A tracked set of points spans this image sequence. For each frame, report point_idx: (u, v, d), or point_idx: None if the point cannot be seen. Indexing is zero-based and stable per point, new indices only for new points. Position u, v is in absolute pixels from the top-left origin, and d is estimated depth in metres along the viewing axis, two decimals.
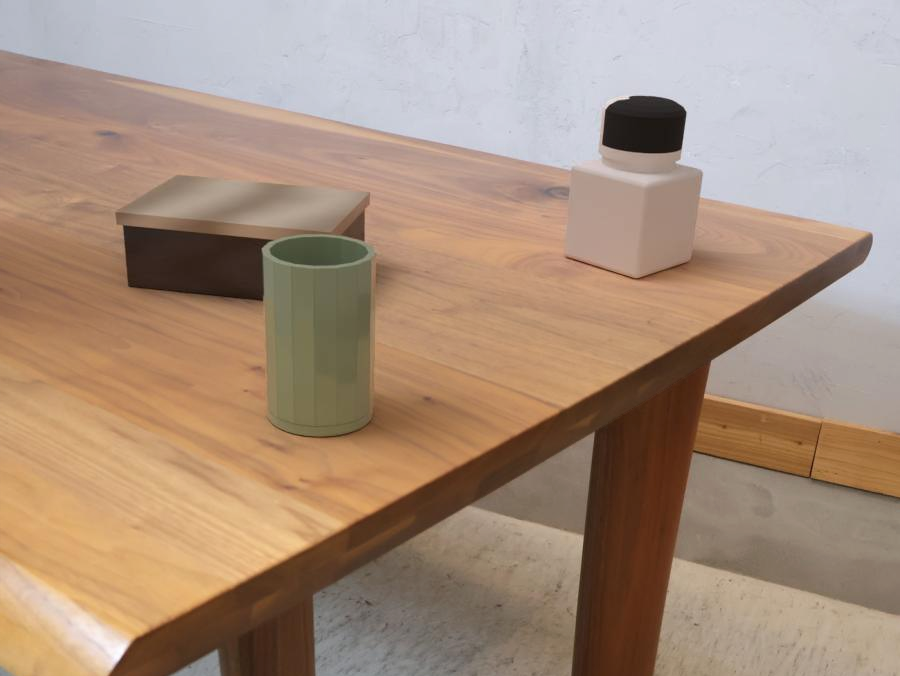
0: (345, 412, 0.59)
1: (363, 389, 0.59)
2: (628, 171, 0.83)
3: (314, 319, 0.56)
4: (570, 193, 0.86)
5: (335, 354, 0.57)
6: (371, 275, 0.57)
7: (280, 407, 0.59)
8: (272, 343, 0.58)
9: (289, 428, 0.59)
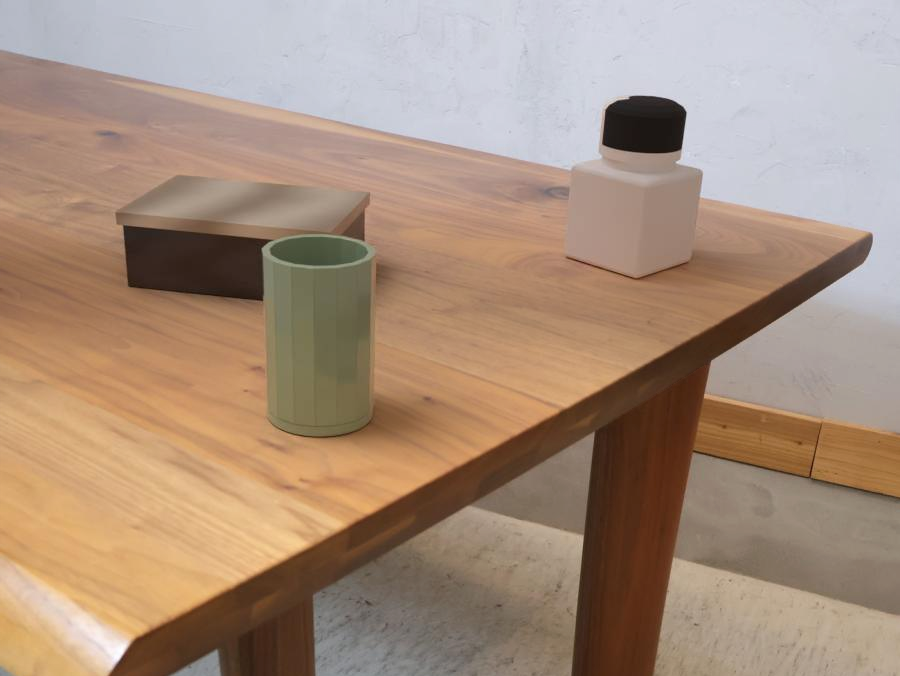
0: (345, 412, 0.59)
1: (363, 389, 0.59)
2: (628, 171, 0.83)
3: (314, 319, 0.56)
4: (570, 193, 0.86)
5: (335, 354, 0.57)
6: (371, 275, 0.57)
7: (280, 407, 0.59)
8: (272, 343, 0.58)
9: (289, 428, 0.59)
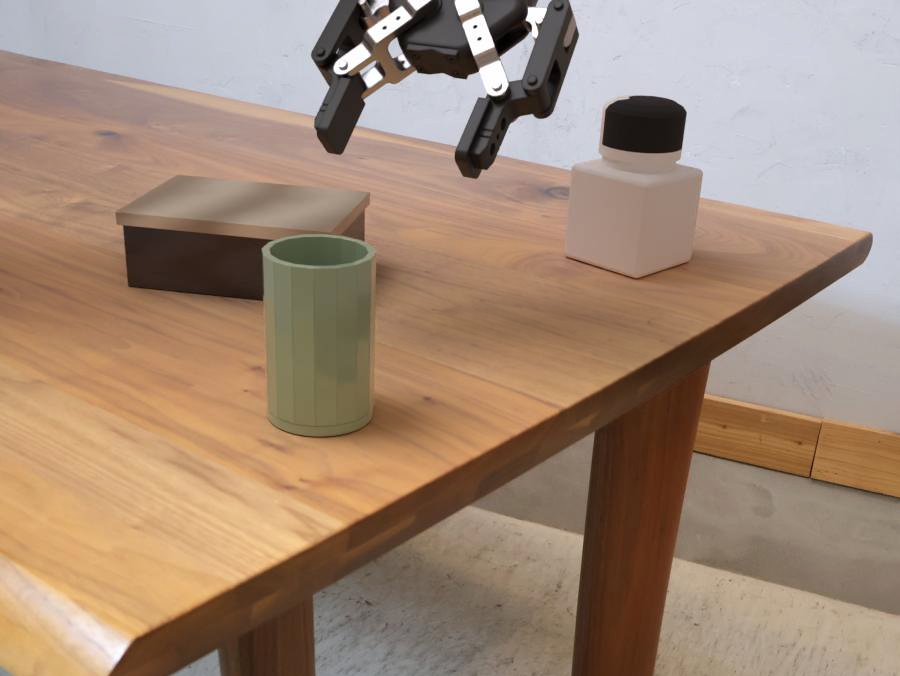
0: (345, 412, 0.59)
1: (363, 389, 0.59)
2: (628, 171, 0.83)
3: (314, 319, 0.56)
4: (570, 193, 0.86)
5: (335, 354, 0.57)
6: (371, 275, 0.57)
7: (280, 407, 0.59)
8: (272, 343, 0.58)
9: (289, 428, 0.59)
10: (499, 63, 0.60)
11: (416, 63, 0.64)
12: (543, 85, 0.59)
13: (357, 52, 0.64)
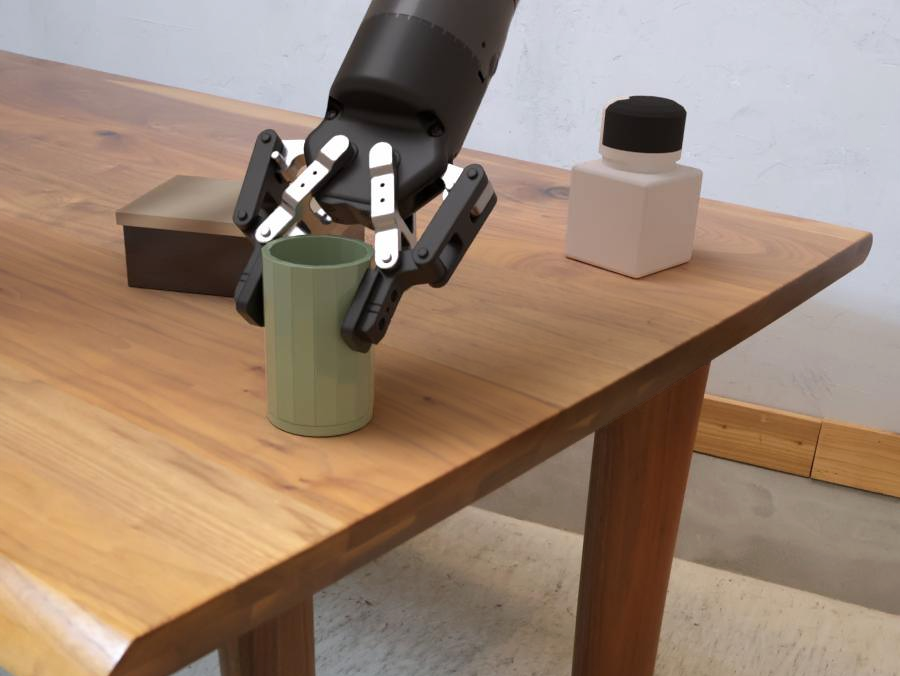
0: (345, 412, 0.59)
1: (363, 389, 0.59)
2: (628, 171, 0.83)
3: (314, 319, 0.56)
4: (570, 193, 0.86)
5: (335, 354, 0.57)
6: None
7: (280, 407, 0.59)
8: (271, 343, 0.58)
9: (289, 428, 0.59)
10: (396, 231, 0.56)
11: (342, 215, 0.60)
12: (434, 258, 0.55)
13: (278, 216, 0.59)
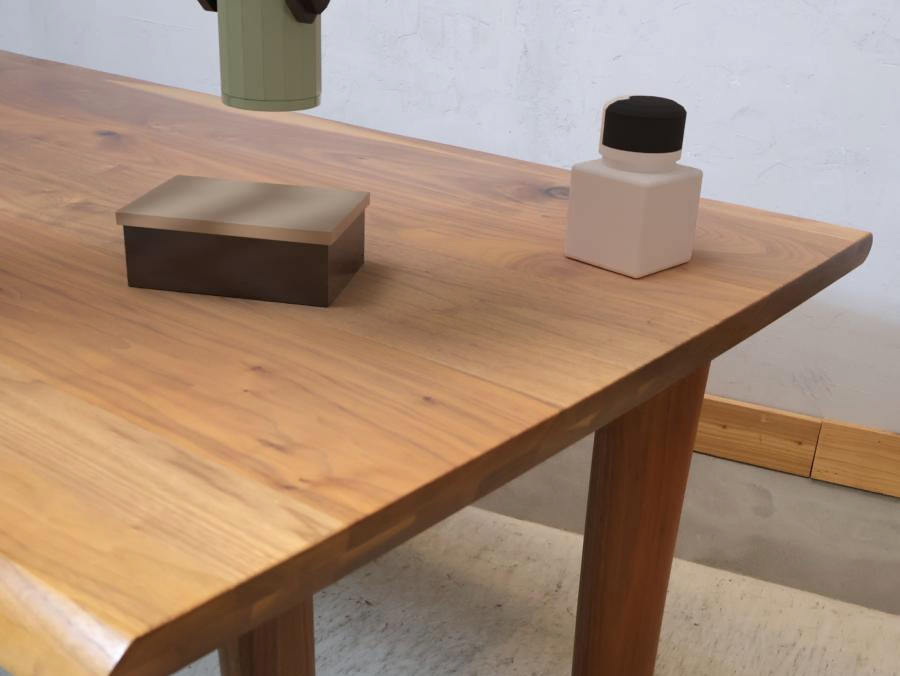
0: (292, 88, 0.63)
1: (309, 68, 0.63)
2: (628, 171, 0.83)
3: None
4: (570, 193, 0.86)
5: (281, 25, 0.61)
6: None
7: (232, 84, 0.63)
8: (223, 18, 0.62)
9: (240, 104, 0.63)
10: None
11: None
12: None
13: None
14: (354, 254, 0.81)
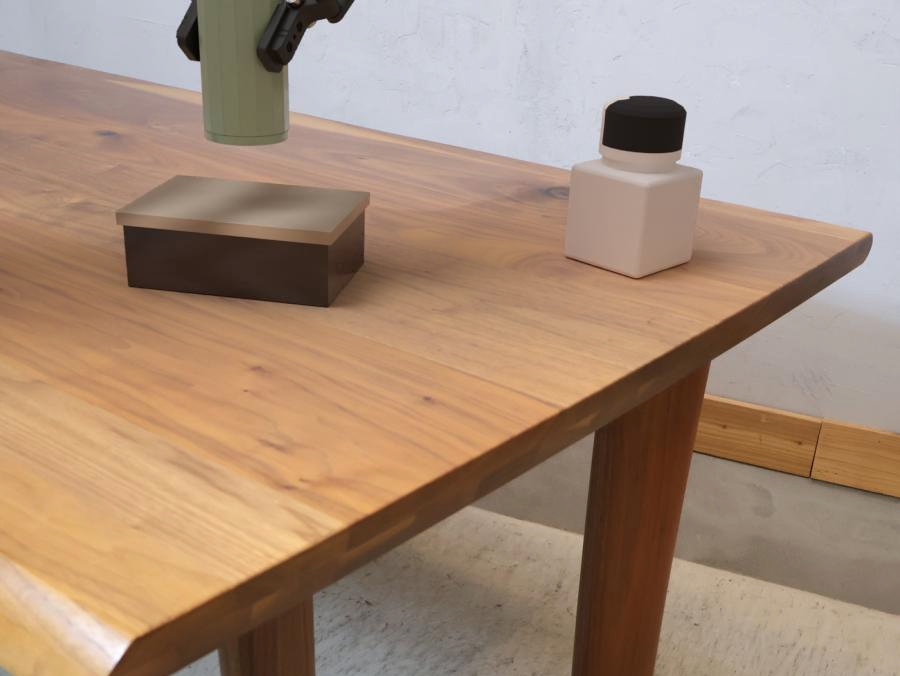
0: (264, 126, 0.74)
1: (278, 109, 0.75)
2: (628, 171, 0.83)
3: (236, 42, 0.72)
4: (570, 193, 0.86)
5: (254, 73, 0.73)
6: None
7: (213, 122, 0.75)
8: (205, 68, 0.73)
9: (220, 140, 0.75)
10: None
11: None
12: None
13: None
14: (354, 254, 0.81)
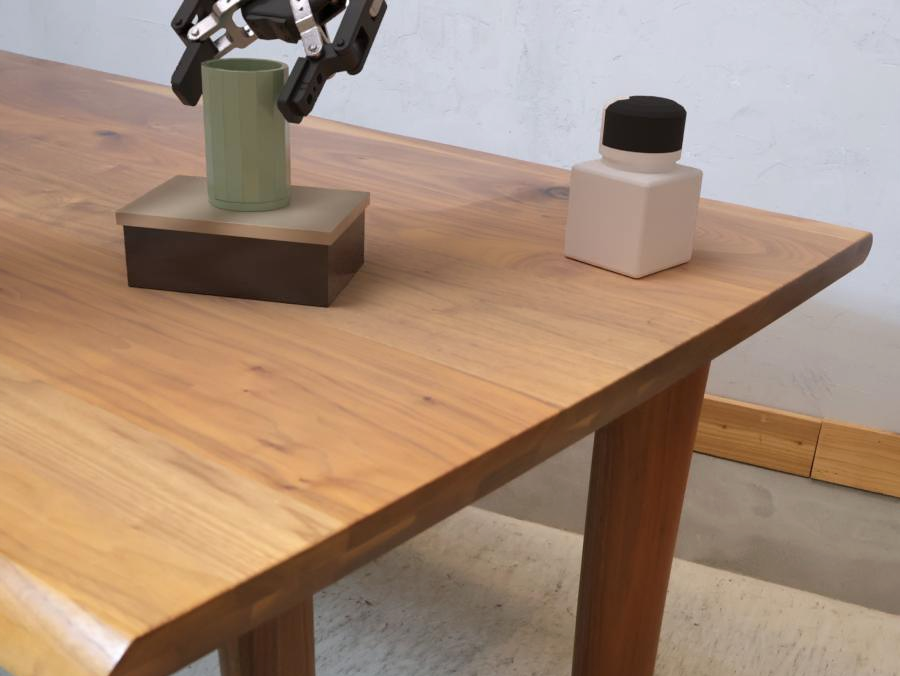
0: (266, 192, 0.76)
1: (280, 176, 0.77)
2: (628, 171, 0.83)
3: (239, 113, 0.74)
4: (570, 193, 0.86)
5: (257, 143, 0.75)
6: (284, 82, 0.75)
7: (216, 189, 0.77)
8: (209, 137, 0.75)
9: (223, 205, 0.77)
10: (316, 29, 0.74)
11: (256, 30, 0.77)
12: (349, 46, 0.73)
13: (207, 21, 0.77)
14: (354, 254, 0.81)
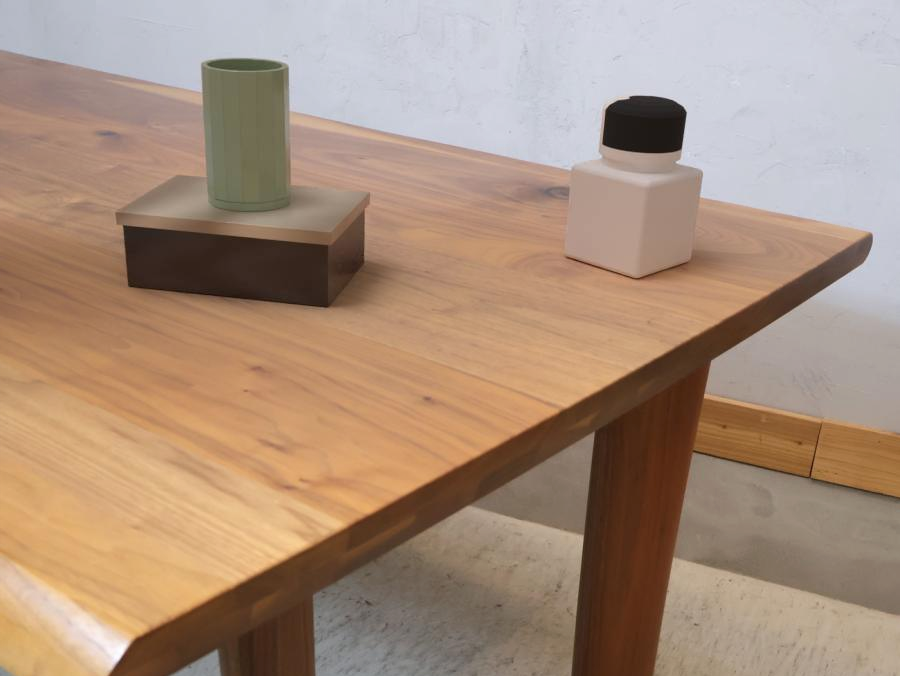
0: (266, 192, 0.76)
1: (280, 176, 0.77)
2: (628, 171, 0.83)
3: (239, 113, 0.74)
4: (570, 193, 0.86)
5: (257, 143, 0.75)
6: (284, 82, 0.75)
7: (216, 189, 0.77)
8: (209, 137, 0.75)
9: (223, 205, 0.77)
10: None
11: None
12: None
13: None
14: (354, 254, 0.81)
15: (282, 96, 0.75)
